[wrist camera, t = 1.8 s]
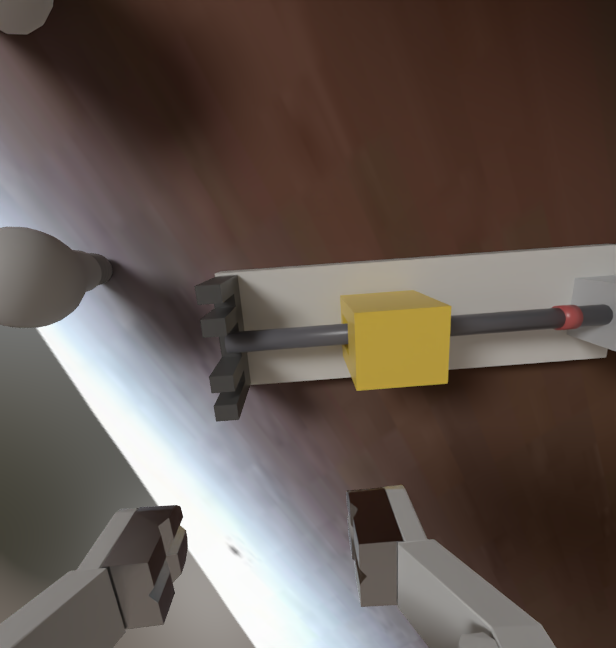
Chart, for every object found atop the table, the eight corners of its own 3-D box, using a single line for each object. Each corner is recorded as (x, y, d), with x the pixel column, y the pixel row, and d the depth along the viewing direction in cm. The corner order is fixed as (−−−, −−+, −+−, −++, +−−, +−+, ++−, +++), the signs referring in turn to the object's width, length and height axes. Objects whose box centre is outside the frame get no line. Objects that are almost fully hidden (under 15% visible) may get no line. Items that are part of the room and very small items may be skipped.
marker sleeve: (340, 295, 26) (354, 313, 19) (413, 289, 26) (451, 305, 19) (342, 355, 27) (356, 390, 21) (412, 350, 27) (447, 383, 21)
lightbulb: (154, 274, 27) (63, 294, 17) (104, 316, 28) (-12, 362, 18) (100, 215, 26) (-35, 197, 15) (50, 262, 27) (-112, 275, 16)
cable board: (220, 271, 28) (190, 283, 20) (603, 243, 28) (720, 244, 20) (235, 377, 30) (213, 424, 22) (586, 350, 31) (684, 386, 23)
